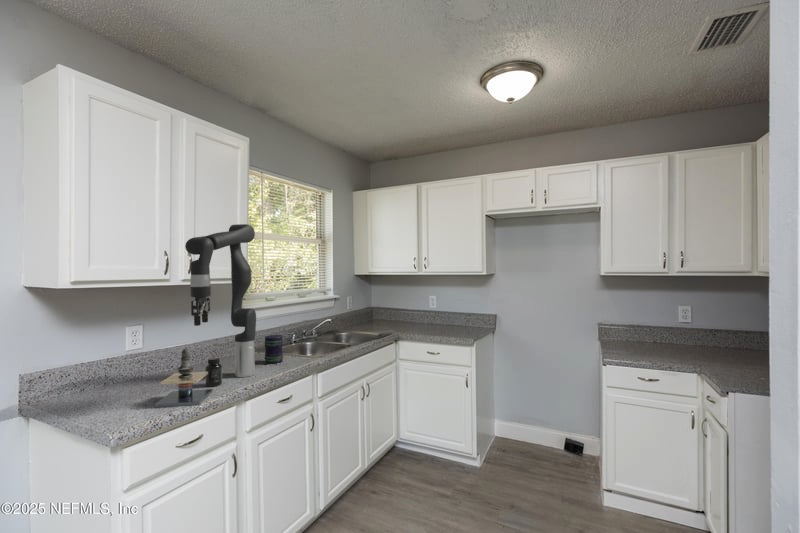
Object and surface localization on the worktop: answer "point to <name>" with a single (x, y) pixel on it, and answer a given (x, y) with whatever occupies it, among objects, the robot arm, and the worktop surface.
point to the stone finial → (185, 365)
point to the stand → (184, 391)
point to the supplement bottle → (213, 372)
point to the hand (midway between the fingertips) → (201, 323)
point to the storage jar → (273, 349)
